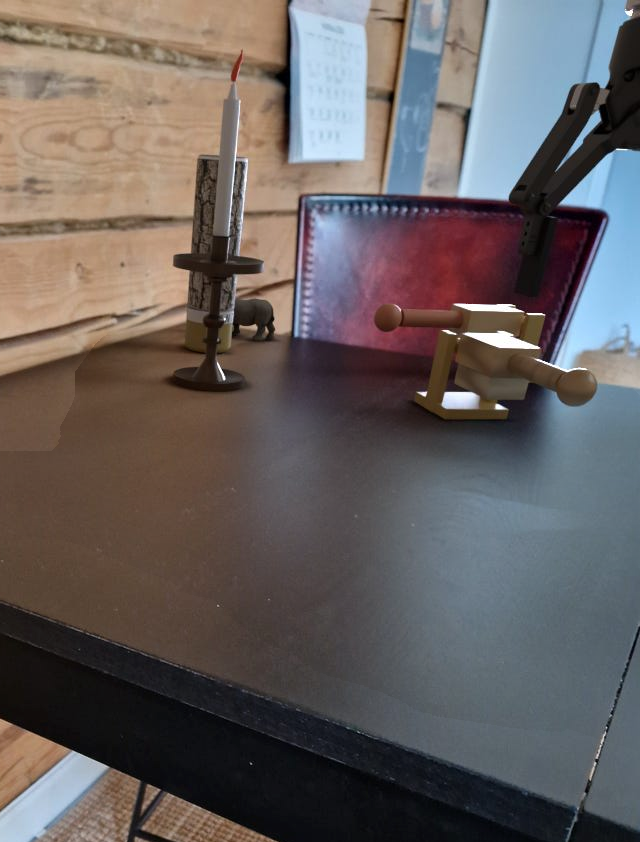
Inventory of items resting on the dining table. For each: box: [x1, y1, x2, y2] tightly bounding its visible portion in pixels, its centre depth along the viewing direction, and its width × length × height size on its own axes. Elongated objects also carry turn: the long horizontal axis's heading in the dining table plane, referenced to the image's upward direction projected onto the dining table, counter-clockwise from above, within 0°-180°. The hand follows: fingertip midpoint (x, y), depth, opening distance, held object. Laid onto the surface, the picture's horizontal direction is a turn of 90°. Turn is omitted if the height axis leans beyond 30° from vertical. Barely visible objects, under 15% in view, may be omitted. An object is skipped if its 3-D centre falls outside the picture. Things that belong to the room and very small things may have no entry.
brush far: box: [373, 302, 526, 339], centre depth 117 cm, size 22×5×6 cm, turn 102°
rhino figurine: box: [231, 296, 276, 342], centre depth 136 cm, size 4×14×6 cm, turn 68°
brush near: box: [453, 333, 598, 408], centre depth 92 cm, size 22×5×6 cm, turn 12°
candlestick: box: [172, 49, 265, 392], centre depth 100 cm, size 11×11×35 cm
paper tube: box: [184, 153, 249, 354], centre depth 120 cm, size 7×7×25 cm
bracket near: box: [413, 329, 514, 420], centre depth 101 cm, size 8×8×9 cm
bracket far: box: [496, 303, 546, 384], centre depth 120 cm, size 8×8×9 cm
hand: (590, 297), depth 80 cm, fingers open, 13 cm apart
